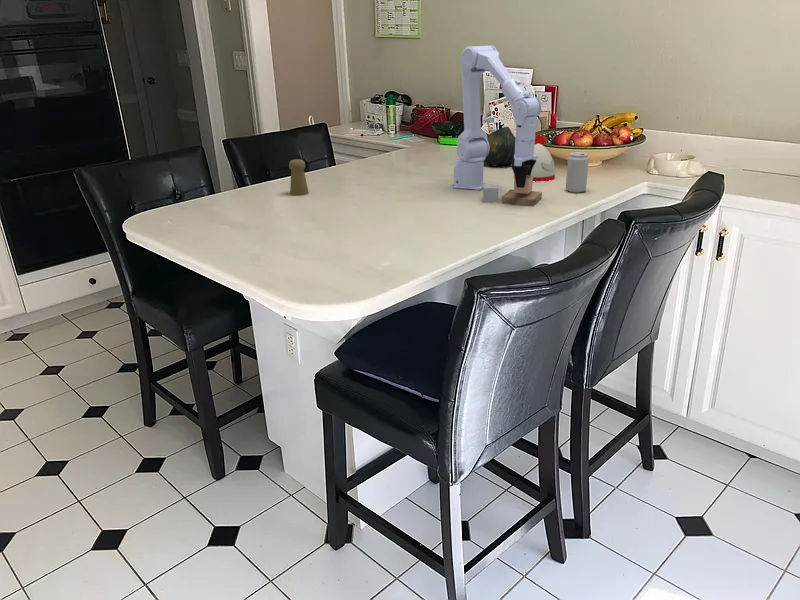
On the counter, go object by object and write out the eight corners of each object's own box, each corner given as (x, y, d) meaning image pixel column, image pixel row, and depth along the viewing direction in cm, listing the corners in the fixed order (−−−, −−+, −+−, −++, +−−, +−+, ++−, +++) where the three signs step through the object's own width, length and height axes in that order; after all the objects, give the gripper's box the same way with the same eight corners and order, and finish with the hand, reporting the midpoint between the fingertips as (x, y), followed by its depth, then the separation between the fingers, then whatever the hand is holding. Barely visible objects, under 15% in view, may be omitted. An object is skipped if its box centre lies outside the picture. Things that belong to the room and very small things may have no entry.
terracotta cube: (513, 192, 199) (514, 177, 197) (517, 188, 202) (518, 174, 200) (528, 193, 197) (529, 178, 195) (532, 190, 201) (533, 175, 199)
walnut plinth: (501, 203, 199) (501, 196, 198) (510, 195, 207) (510, 189, 206) (533, 206, 195) (534, 199, 194) (541, 198, 203) (541, 191, 202)
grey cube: (482, 202, 200) (483, 188, 198) (483, 198, 204) (483, 184, 202) (497, 202, 199) (498, 188, 198) (498, 199, 203) (498, 184, 202)
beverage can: (586, 193, 207) (589, 155, 203) (565, 193, 209) (568, 155, 204) (585, 189, 213) (588, 151, 208) (565, 188, 214) (568, 151, 210)
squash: (466, 150, 250) (490, 122, 240) (488, 146, 260) (511, 119, 250) (488, 178, 247) (513, 151, 237) (509, 173, 257) (534, 147, 247)
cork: (312, 192, 216) (309, 158, 211) (302, 196, 211) (299, 162, 206) (296, 190, 218) (294, 157, 214) (286, 194, 213) (283, 160, 209)
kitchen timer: (563, 178, 228) (566, 134, 222) (534, 184, 221) (537, 139, 215) (534, 171, 239) (536, 129, 233) (506, 177, 232) (508, 133, 226)
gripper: (532, 144, 186) (529, 191, 191) (544, 136, 198) (541, 181, 203) (508, 143, 189) (506, 189, 194) (521, 135, 201) (518, 179, 206)
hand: (522, 185), depth 199 cm, fingers closed on terracotta cube, 4 cm apart
